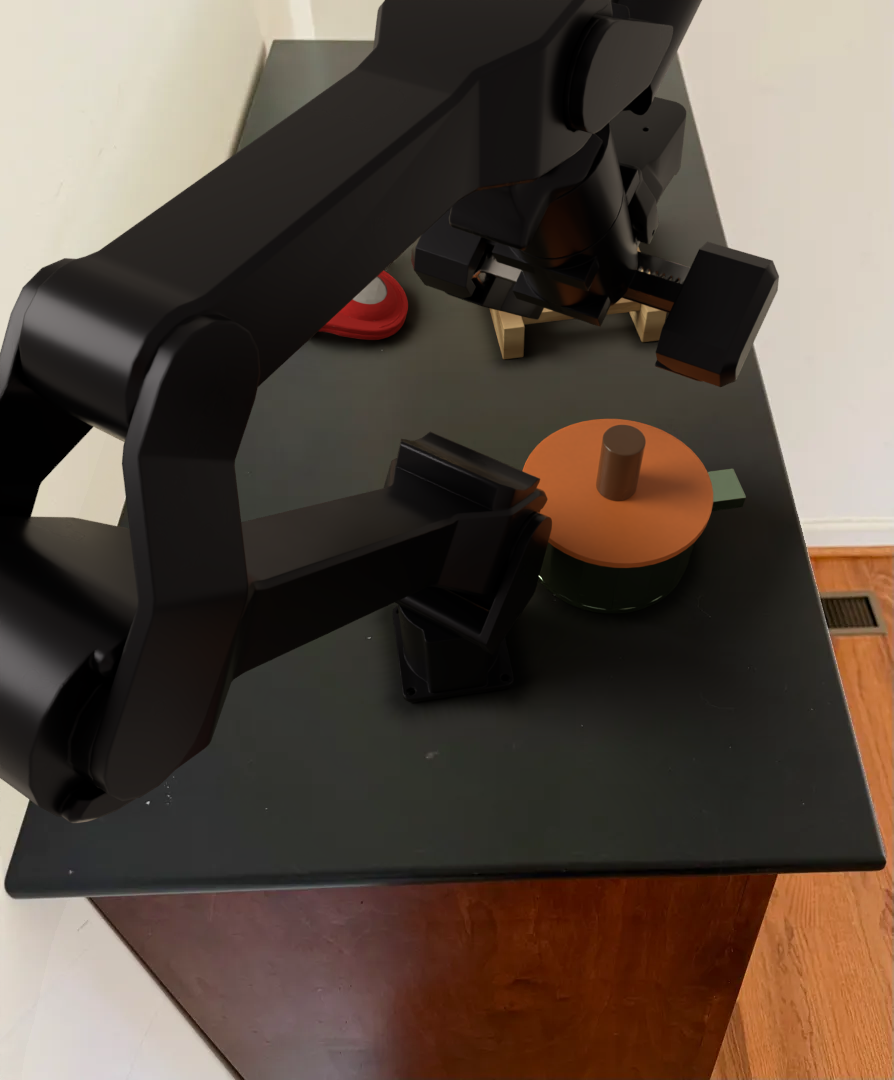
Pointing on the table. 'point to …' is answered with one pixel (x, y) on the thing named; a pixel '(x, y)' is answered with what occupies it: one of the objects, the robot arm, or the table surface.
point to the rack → (513, 325)
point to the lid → (621, 492)
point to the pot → (628, 585)
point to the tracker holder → (372, 311)
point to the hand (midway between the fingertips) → (606, 334)
